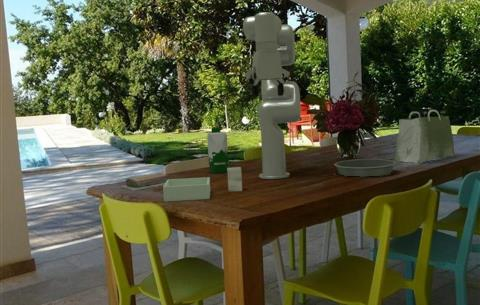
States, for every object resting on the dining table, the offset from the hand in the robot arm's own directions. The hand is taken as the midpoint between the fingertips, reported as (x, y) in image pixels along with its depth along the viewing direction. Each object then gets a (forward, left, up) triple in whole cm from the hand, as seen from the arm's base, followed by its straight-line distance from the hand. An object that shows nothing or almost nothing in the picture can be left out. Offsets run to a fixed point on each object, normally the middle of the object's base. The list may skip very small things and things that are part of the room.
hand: (268, 96), depth 192 cm
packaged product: (-19, -49, -34) cm, 63 cm away
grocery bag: (-50, +76, -34) cm, 97 cm away
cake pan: (-21, +40, -34) cm, 57 cm away
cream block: (0, -14, -34) cm, 37 cm away
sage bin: (+6, -31, -34) cm, 46 cm away
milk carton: (-46, -20, -34) cm, 61 cm away
